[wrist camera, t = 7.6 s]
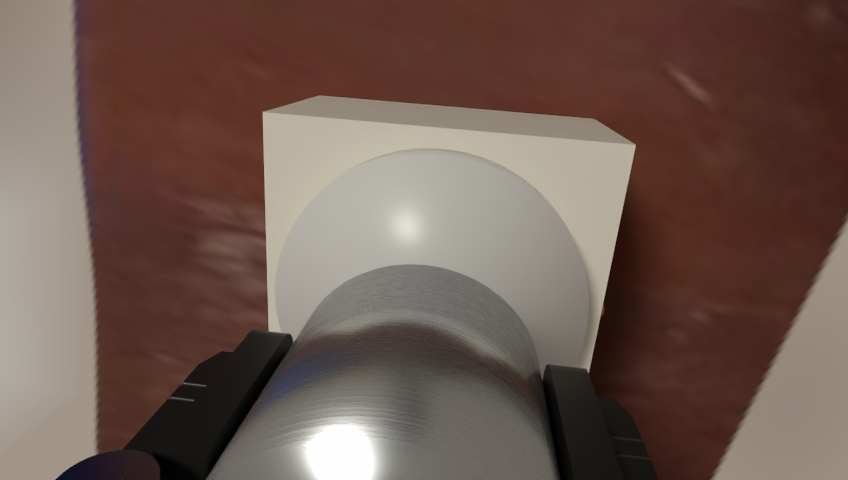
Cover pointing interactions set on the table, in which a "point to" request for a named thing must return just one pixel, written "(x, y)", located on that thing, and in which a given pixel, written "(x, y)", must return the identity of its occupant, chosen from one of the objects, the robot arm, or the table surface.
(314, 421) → the cylinder
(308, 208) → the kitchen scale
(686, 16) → the table surface
